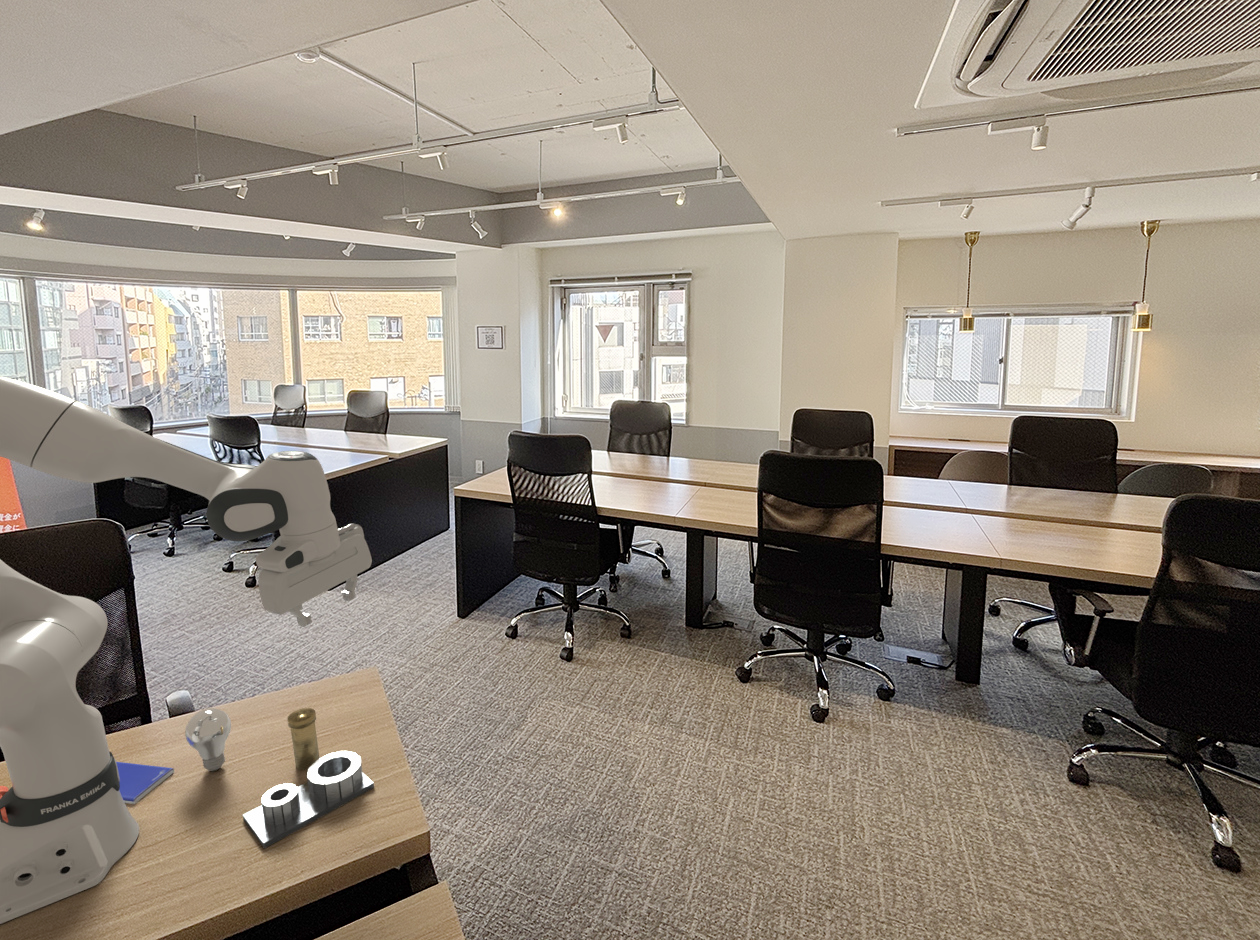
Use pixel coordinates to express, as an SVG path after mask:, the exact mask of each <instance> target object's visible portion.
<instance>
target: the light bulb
mask: <svg viewBox="0 0 1260 940" xmlns="http://www.w3.org/2000/svg"><path fill="white" fill-rule="evenodd" d="M231 729H232V721H231V718H230V716H229V715H228V713H226V712H225V711H224V710H222V709H220V708H215V707H211V708H210V707H209V708H205V709H203V710H200V711H198V712H197V713H195V714H194V715H193V716H192V717H191V718H190V719H189V720H188V723H187V725H186V727H185V731H184V732H185V735H184V736H185V740H186V742H187V743H188V744H189V745H190V747H191V748H193V749H194V750H196V751H197V753H198V754H199V756H200V758H201V759H202V764H203V768H204V769H205V770H207V771H210V772H216V771H218V770H219V769H221V767H222V766H223V765H224V764H225V762H226V757H225V753H224V751H225V747H226V746H225V745H226V741H227V739H228V737H229V735H230V733H231Z"/></svg>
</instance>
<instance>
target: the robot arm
mask: <svg viewBox="0 0 1260 940" xmlns="http://www.w3.org/2000/svg"><path fill="white" fill-rule="evenodd" d="M0 457H2V458H3V459H7V460H10V461H13V462H16V463H19V464H22V465H23V466H26V467H28V468H31V469H33V470H36V471H39V472H42V473H45V474H48V475H51V476H54V477H57V478H61V479H66V480H70V481H74V482H80V483H84V484H96V483H102V482H106V481H111V480H118V479H124V478H125V479H126V478H146V479H151V480H155V481H158V482H160V483H161V482H162V483H165V484H166V485H167V484H168V485H170V486H172V487H176V488H179V489H183V490H185V491H188V492H190V493H193V494H197V495H199V496H201V497H204V498H205V499H207V500H208V506H207V508H206V520H207V523H208V526H209V527H210V529H211V530H212V531H213V533H215V534H216V535H217V536H218V537H220V538H222V539H224V540H227V541H231V542H238V543H239V542H248V541H252V540H254V539H257V538H261V537H263V536H266V535H269V534H271V533H274V532H277V531H278V530H279V534H280V536H278V537H277V538H276V540H274V541H273V542H272V543H271V544H270V545H268V547H266V548H265V549H264V550H263V551H262V552H260V553H259V554H257V555H256V557H255V563H256V566H257V567H258V568H260V569H261V571H260V572H259V574H258V581H257V582H258V589H259V590H258V591H259V595H260V600H261V604H262V607H263V609H264V610H265V611H266V612H269V613H272V614H274V615H279V616H281V615H284V614H286V613H287V612H289V613H290V614H292V615H293V616H294V617H295V618H296V621H297V624H298V626H300V627H303V628H306V627H307V626H309V625H310V624H312V623H313V619H312V616H311V614H310V613H306V612H302V611H301V610H303V604H304V603H306V602H308V601H310V600H312V599H313V598H315V597H317V596H319V595H321V594H323V593H325V592H326V591H329V590H331V589H332V588H334V587H336V586H339V584H342V583H344V582H345V587H344V590H343V591H341V595H342V599H343V601H346V602H351V601H352V600H354V599H355V598H356V597H357V595H356V591H355V590H356V587H357V584H358V580H359V579H358V574H362V573H363V572H365V571H367V570H368V569H369V568H370V567H371V566H372V563H373V562H372V561H373V559H372V555H371V552H370V548H369V545H368V543H367V541H366V539H365V534H364V530H363V527H362V526H361V525H360V524H358V523H357V524H356V523H354V522H353V523H349V524H346V526H343V527H341V528H339V527H338V524H337V521H336V517H335V515H334V513H333V512H332V509H331V492H330V489H329V488H330V487H329V484H328V481H327V477H326V474H325V471H324V468H323V465H322V464H321V462H320V460H319V459H318V458H317V457H316V456H315V455H313V454H311V453H309V452H304V451H300V450H284V451H283V450H281V451H277V452H273V453H270V454H269V455H267V457H266V458H265V459H264V460H263V461H262V462H261V463H260V464H258V465H257V466H256V465H251V464H238V463H237V464H235V463H226V462H222V461H218V460H216V459H213V458H209V457H207V456H205V455H202V454H199V453H197V452H195V451H191V450H188V449H186V448H183V447H181V446H178V445H176V444H173V443H170V442H167V441H165V440H162V439H160V438H158V437H154V436H152V435H150V434H149V433H146V432H144V431H142V430H141V429H138V428H136V427H133V426H131V425H129V424H127V423H125V422H123V421H122V420H119V419H118V418H115V417H113V416H112V415H109V414H107V413H105V412H103V411H101V410H99V409H97V408H95V407H92V406H90V405H87V404H85V403H83V402H81V401H79V400H76V399H74V398H71V397H68V396H67V395H65V394H61V393H58V392H56V391H53V390H50V389H46V388H44V387H41V386H38V385H35V384H33V383H28V382H25V381H21V380H18V379H13V378H10V377H6V376H2V375H0ZM108 625H109V624H108V617H107V614H106V612H105V610H104V609H103V608H102V606H101V605H100V604H98V603H97V602H95V601H93V600H92V599H90V598H87V597H83V596H78V595H69V594H68V595H67V594H64V593H63V594H62V593H60V592H57V591H55V590H52V589H51V588H48V587H46V586H44V585H43V584H41V583H38V582H36V581H34V580H32V579H30V578H29V577H27V576H25V575H23V574H22V573H20V572H19V571H16V570H15V569H14V568H12V567H11V566H9V565H8V564H6V562H5V561H3V560H2V559H1V558H0V749H1V752H2V753H3V757H4V761H5V764H6V768H7V772H8V775H9V779H10V781H11V787H10V788H8V786H5V785H0V925H1V924H4V923H6V922H8V921H11V920H14V919H15V918H19V917H21V916H24V915H26V914H28V913H31V912H34V911H36V910H38V909H41V908H44V907H46V906H48V905H51V904H53V903H55V902H58V901H60V900H64V899H65V898H68V897H70V896H73V895H75V894H78V893H80V892H82V891H84V890H85V891H86V890H88V889H90V888H93V887H96V885H98V884H100V883H101V882H102V881H103V880H104V878H105V877H106V876H107V875H108V873H109V872H110V869H111V868H112V867H113V866H114V864H116V863H117V862H118V861H119V860H120V859H121V858H122V857H123V856H124V855H125V854H126V853H128V851H129V850H130V849H131V848H132V847H133V846H134V844H135V842H136V841H137V839H138V837H139V833H140V825H139V823H138V822H137V820H136V819H135V817H133V814H131V813H130V811H129V810H130V809H128V806H127V804H126V803H124V800H123V798H122V796H121V793H120V790H119V789H120V783H119V782H120V777H119V772H118V767H117V763H116V762H117V760H116V758H115V756H114V755H113V753H112V751H110V748H109V745H108V739H107V735H106V729H105V726H104V722H103V715H102V714H101V712H100V711H99V710H98V709H97V708H96V707H95V706H92V705H90V704H85V703H84V702H83V699H81V697H80V695H79V693H78V691H77V687H76V683H77V676H78V673H79V672H80V670H81V669H82V668H83V667H84V666H86V664H87V663H88V662H89V661H90V660H91V659H92V657H93V656H95V654H96V653H97V652H98V651H99V649H100V647H101V644H102V643H103V641H104V638H105V636H106V633H107V630H108Z"/></svg>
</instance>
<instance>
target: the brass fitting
mask: <svg viewBox="0 0 1260 940" xmlns="http://www.w3.org/2000/svg"><path fill="white" fill-rule="evenodd" d="M316 714H317V713H316V710H315V709H314V708H310V707H304V708H299V709H297V710H295V711H293V712H291V713H290V714H289V715H288V716H287V718H286V719H287V726H288V728H290V735H291V742H292V749H293V755H294V762H295V769H297V770H298V771H308V770H309V767H310V766H311V765H312V764H313V763H315V762H316V761H317V760H318V759H320V758H321V757H320V753H319V752H320V751H319V745H318V744H319V743H318V737H317V728H316V720H317V715H316Z"/></svg>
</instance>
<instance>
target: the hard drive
mask: <svg viewBox="0 0 1260 940" xmlns="http://www.w3.org/2000/svg"><path fill="white" fill-rule="evenodd" d="M116 763H117V767H118V772H119V777H120V782H119V783H120V789H119V790H120V793H121V796H122V798H123V800H124V803H125V804H130V805H136V803H138V802H139V801H140V800H142V799H143V798H144V797H146V796H147V795H148V794H149V793H150V792H151V791H153V790H154V789H155V788H157V786H159V785H160V784H162V782H164V781H166V779H168V778H169V777H170V776H171V775H172V774H173V773H175V769H174V767H166V766H156V765H150V764H148V765H147V764H141V763H131V762H123V761H116Z"/></svg>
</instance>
